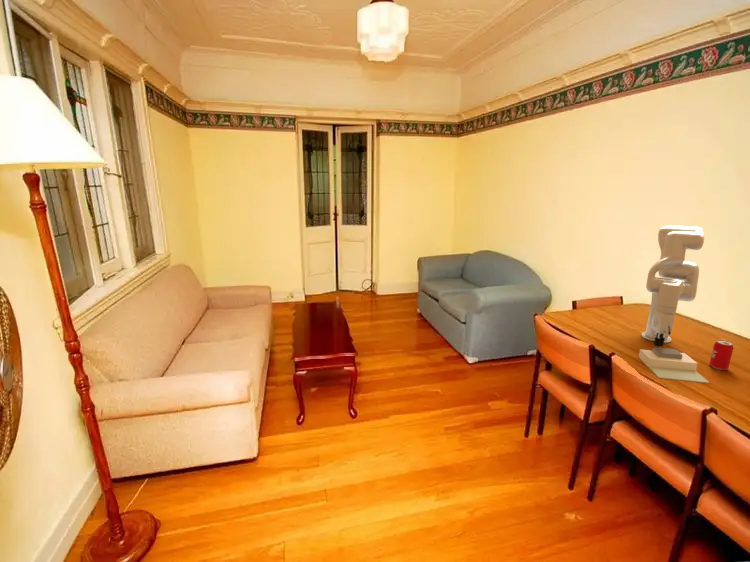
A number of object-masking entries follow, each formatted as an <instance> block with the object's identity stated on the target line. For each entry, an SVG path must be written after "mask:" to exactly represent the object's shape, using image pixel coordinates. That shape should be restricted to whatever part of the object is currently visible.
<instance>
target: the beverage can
mask: <svg viewBox="0 0 750 562" xmlns="http://www.w3.org/2000/svg"><path fill="white" fill-rule="evenodd" d="M733 352H734V344H733V343H732V342H731V341H729V340H724V339H723V340H722V339H718V340H716V341H715V343H714V344H713V348H712V353H711V356H710V360H709V365H710V366H711V367H712V368H714V369H715V370H724V371H725V370H728V369H729V367H730V364H731V363H730V362H731V359H732V356H733Z"/></svg>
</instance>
